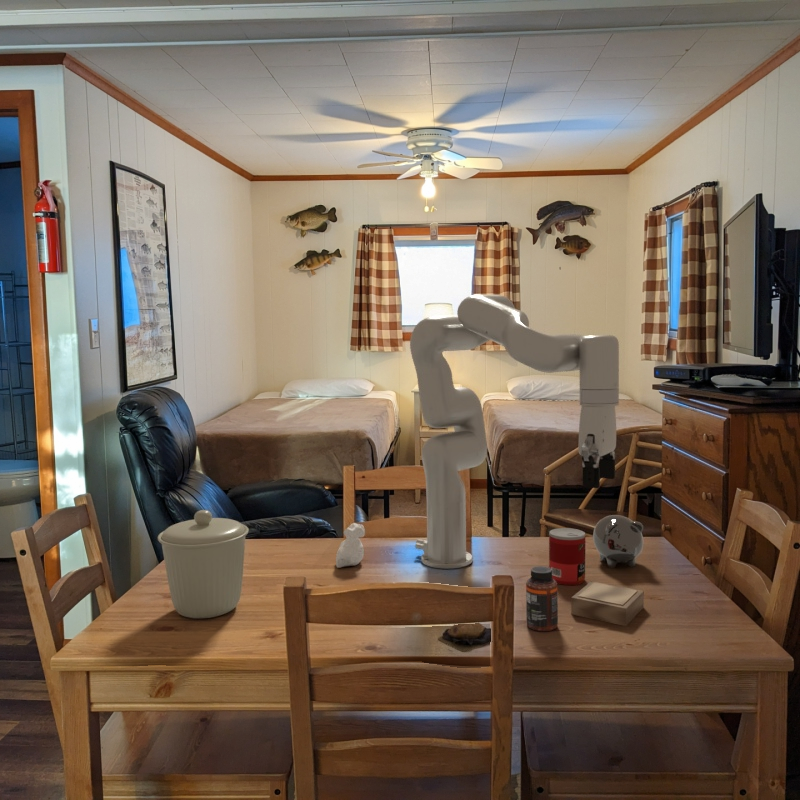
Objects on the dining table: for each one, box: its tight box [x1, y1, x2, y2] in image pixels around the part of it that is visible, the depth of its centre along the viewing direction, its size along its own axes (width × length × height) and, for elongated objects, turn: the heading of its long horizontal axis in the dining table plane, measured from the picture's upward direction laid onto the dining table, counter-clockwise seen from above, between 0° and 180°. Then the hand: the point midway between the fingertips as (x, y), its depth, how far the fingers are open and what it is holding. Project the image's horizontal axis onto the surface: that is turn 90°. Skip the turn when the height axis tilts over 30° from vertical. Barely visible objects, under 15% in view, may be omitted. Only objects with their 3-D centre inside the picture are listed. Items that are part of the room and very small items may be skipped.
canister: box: [157, 509, 250, 619], centre depth 154 cm, size 18×18×21 cm
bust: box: [335, 522, 366, 569], centre depth 182 cm, size 12×8×11 cm
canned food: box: [548, 527, 586, 586], centre depth 168 cm, size 8×8×11 cm
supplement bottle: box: [525, 565, 559, 632], centre depth 143 cm, size 6×6×11 cm
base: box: [570, 580, 645, 627], centre depth 150 cm, size 11×11×4 cm
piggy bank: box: [592, 514, 644, 568], centre depth 179 cm, size 11×15×12 cm
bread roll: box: [437, 622, 492, 653], centre depth 139 cm, size 11×8×4 cm
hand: (599, 482), depth 149 cm, fingers open, 9 cm apart
